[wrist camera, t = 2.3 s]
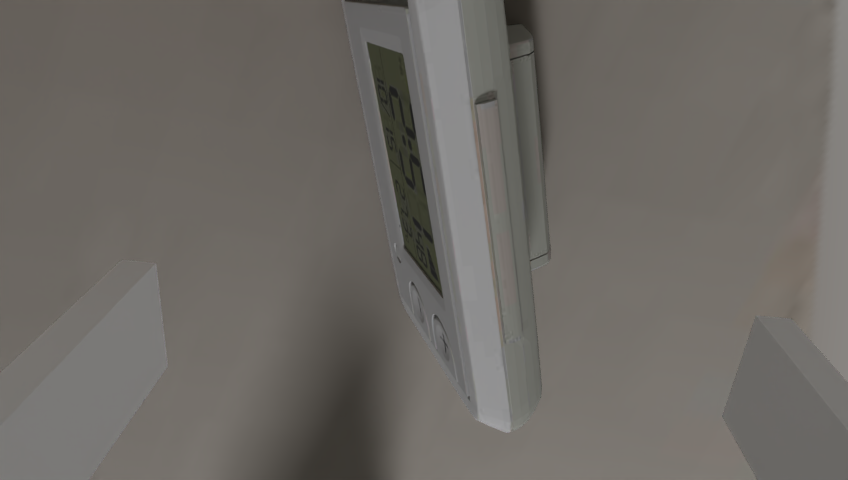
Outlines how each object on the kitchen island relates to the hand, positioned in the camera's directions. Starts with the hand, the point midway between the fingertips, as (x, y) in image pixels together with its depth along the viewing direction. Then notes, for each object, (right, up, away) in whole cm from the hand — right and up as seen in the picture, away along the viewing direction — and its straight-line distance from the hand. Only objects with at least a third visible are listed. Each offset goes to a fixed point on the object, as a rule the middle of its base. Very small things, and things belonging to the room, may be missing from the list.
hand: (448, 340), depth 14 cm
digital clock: (0, +7, +14) cm, 16 cm away
